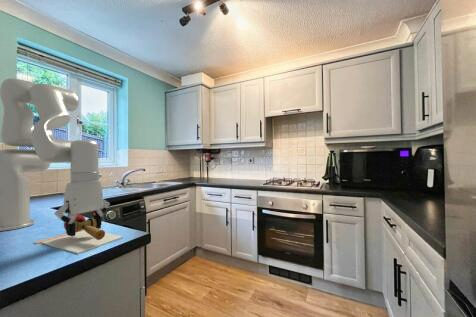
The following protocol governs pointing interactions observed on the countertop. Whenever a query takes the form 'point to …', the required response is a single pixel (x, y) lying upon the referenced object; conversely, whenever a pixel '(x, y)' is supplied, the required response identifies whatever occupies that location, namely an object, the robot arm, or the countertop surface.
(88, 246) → the mat
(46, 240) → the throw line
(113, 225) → the countertop surface
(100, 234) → the kendama
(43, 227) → the countertop surface
